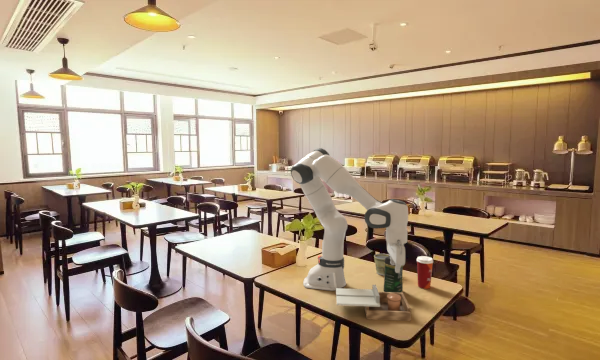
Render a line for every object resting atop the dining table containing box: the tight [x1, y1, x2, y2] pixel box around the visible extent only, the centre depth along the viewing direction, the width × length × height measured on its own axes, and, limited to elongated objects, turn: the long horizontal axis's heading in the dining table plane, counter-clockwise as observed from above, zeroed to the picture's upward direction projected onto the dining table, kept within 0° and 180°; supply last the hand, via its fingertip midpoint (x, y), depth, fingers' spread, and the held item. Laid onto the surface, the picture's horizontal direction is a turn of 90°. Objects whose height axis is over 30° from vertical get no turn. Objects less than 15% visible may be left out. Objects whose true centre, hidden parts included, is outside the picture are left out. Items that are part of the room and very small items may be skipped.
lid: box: [335, 284, 380, 307], centre depth 150 cm, size 18×15×4 cm
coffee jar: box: [383, 256, 404, 293], centre depth 168 cm, size 10×8×19 cm
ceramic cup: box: [373, 253, 390, 277], centre depth 192 cm, size 13×10×10 cm
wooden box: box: [363, 291, 412, 322], centre depth 149 cm, size 18×16×5 cm
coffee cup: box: [416, 255, 434, 290], centre depth 174 cm, size 8×8×15 cm
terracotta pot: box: [387, 294, 401, 311], centre depth 149 cm, size 6×6×6 cm
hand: (394, 268), depth 147 cm, fingers open, 8 cm apart
